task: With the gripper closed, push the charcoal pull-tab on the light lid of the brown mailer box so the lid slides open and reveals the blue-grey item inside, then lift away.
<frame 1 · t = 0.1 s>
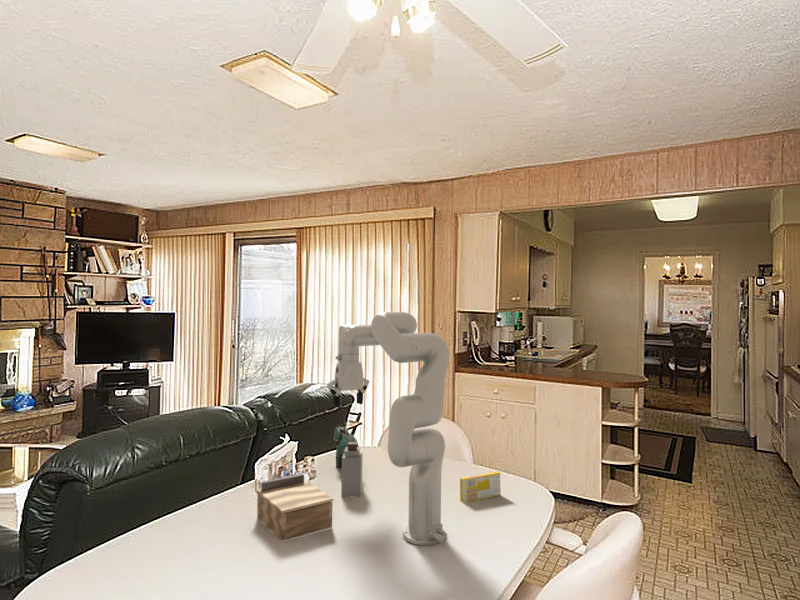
hand: (348, 405, 190), 31 cm above the table, tool pointing down, fingers open, 9 cm apart
mailer lid: (294, 491, 162), point 10 cm above the table, slide at 0.0 cm
mailer base: (293, 523, 162), on the table
candy box: (480, 499, 184), on the table
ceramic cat: (347, 473, 210), on the table
perfume bottle: (351, 493, 188), on the table
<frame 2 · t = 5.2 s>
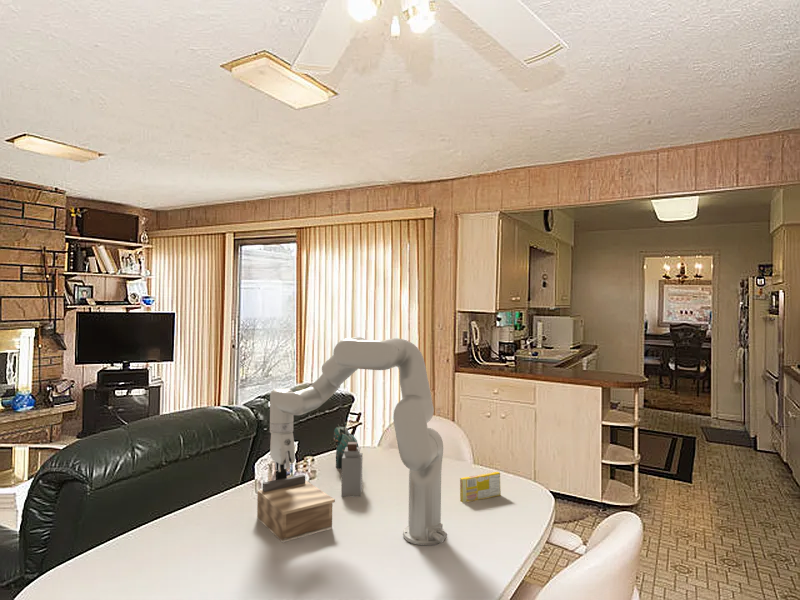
hand: (281, 483, 170), 10 cm above the table, tool pointing down, fingers closed
mailer lid: (295, 492, 161), point 10 cm above the table, slide at 1.0 cm, touching gripper
everything else where it was.
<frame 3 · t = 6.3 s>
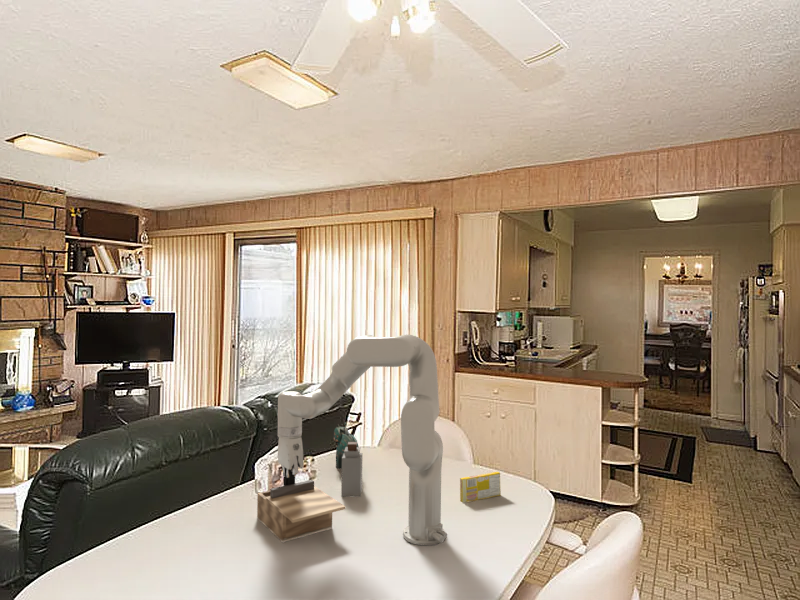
hand: (289, 488, 165), 10 cm above the table, tool pointing down, fingers closed
mailer lid: (304, 498, 156), point 10 cm above the table, slide at 7.4 cm, touching gripper
everything else where it was.
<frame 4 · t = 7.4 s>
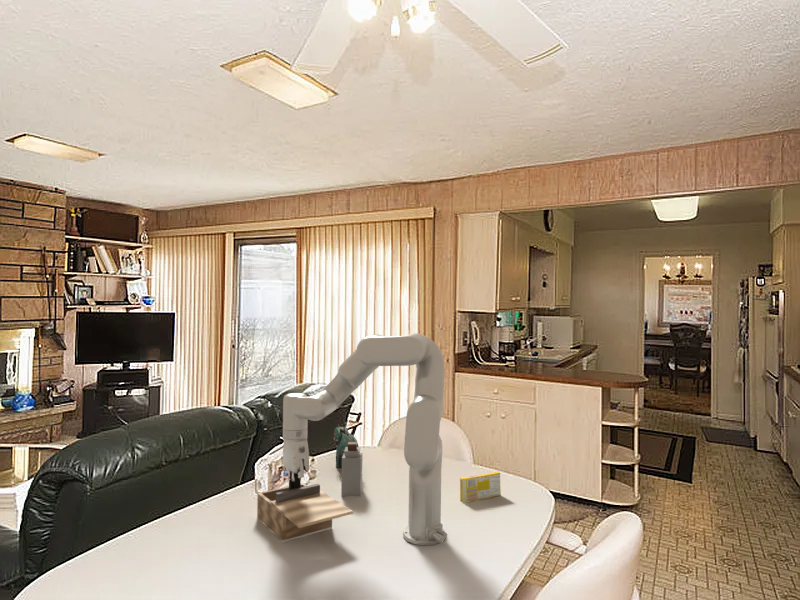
hand: (294, 492, 161), 10 cm above the table, tool pointing down, fingers closed
mailer lid: (310, 503, 152), point 10 cm above the table, slide at 11.4 cm, touching gripper
everything else where it was.
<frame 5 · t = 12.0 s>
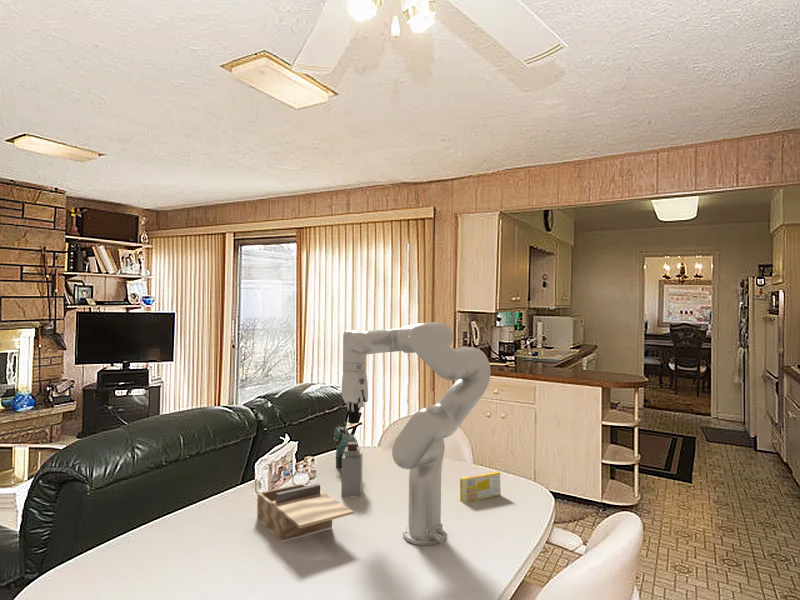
hand: (353, 422, 172), 29 cm above the table, tool pointing down, fingers closed
mailer lid: (310, 503, 152), point 10 cm above the table, slide at 11.7 cm
everything else where it was.
at the end: mailer lid slide at 11.7 cm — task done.
